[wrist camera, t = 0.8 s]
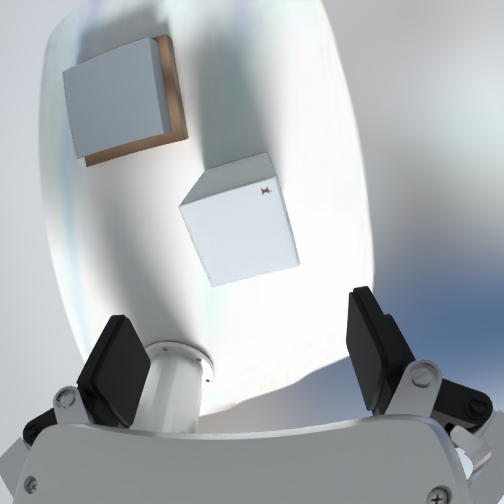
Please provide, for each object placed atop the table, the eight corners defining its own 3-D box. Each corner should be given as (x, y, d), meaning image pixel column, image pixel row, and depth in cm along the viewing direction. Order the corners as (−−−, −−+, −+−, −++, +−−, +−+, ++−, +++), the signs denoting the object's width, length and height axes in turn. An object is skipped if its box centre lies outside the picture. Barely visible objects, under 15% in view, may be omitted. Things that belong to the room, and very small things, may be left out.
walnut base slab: (189, 137, 30) (184, 140, 27) (98, 162, 30) (86, 167, 28) (173, 40, 24) (166, 34, 22) (82, 74, 25) (69, 72, 22)
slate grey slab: (172, 131, 26) (163, 133, 24) (90, 154, 27) (77, 159, 24) (158, 43, 22) (148, 36, 19) (77, 73, 22) (62, 72, 20)
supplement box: (203, 169, 31) (174, 203, 19) (268, 150, 30) (279, 172, 18) (223, 228, 34) (210, 289, 23) (284, 212, 33) (302, 267, 22)
